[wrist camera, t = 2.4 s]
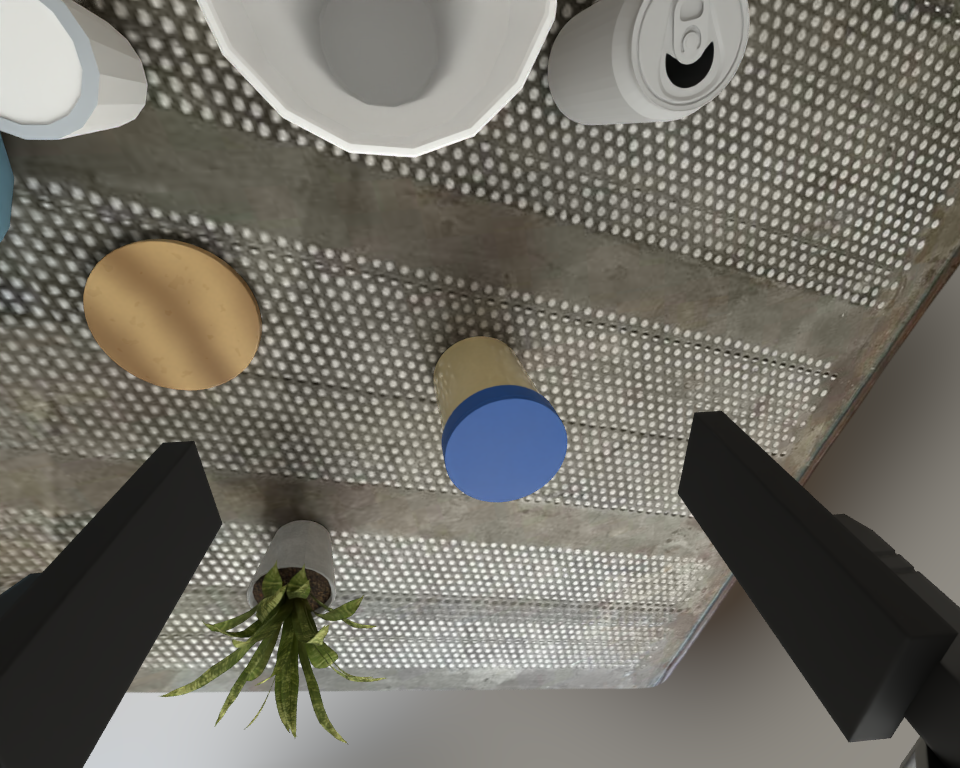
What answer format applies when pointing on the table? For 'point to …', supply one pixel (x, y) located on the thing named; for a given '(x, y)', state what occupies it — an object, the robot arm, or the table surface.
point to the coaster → (172, 314)
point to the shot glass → (64, 71)
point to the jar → (475, 371)
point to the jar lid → (503, 443)
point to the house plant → (287, 621)
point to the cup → (383, 64)
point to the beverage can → (646, 59)
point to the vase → (5, 190)
